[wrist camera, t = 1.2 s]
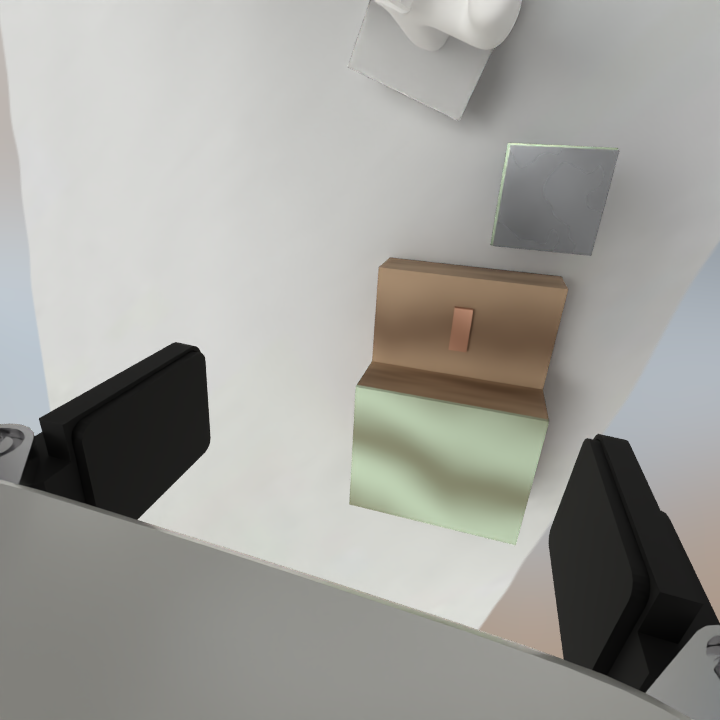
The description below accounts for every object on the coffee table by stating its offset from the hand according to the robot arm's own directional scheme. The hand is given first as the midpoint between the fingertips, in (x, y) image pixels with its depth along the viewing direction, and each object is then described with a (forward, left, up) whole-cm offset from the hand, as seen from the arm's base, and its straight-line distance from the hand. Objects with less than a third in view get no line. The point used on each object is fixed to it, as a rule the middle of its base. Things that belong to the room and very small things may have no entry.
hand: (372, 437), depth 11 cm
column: (-5, +4, -24) cm, 25 cm away
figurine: (-13, -3, -24) cm, 27 cm away
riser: (+9, +1, -24) cm, 26 cm away
